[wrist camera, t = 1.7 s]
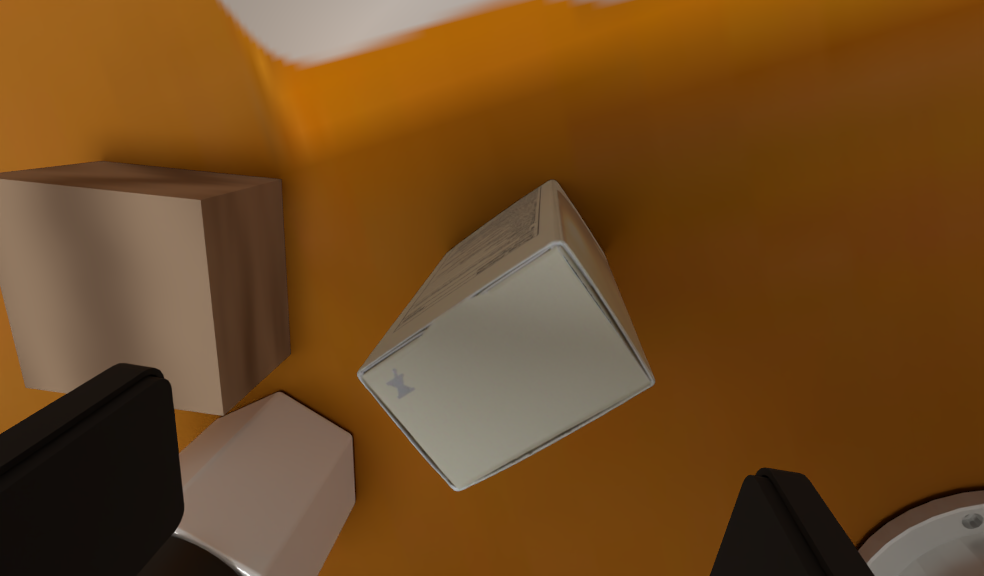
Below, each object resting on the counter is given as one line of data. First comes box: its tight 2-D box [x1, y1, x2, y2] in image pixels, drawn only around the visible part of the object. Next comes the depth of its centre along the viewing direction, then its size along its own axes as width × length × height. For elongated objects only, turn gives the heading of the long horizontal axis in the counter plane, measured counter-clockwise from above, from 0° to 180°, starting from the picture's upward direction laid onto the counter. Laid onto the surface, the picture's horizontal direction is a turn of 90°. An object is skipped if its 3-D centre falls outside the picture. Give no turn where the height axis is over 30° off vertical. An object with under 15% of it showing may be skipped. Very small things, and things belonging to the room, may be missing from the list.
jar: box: [137, 392, 355, 576], centre depth 24 cm, size 9×8×12 cm
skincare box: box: [357, 180, 655, 491], centre depth 18 cm, size 6×4×12 cm
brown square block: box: [0, 161, 291, 416], centre depth 23 cm, size 9×9×6 cm
